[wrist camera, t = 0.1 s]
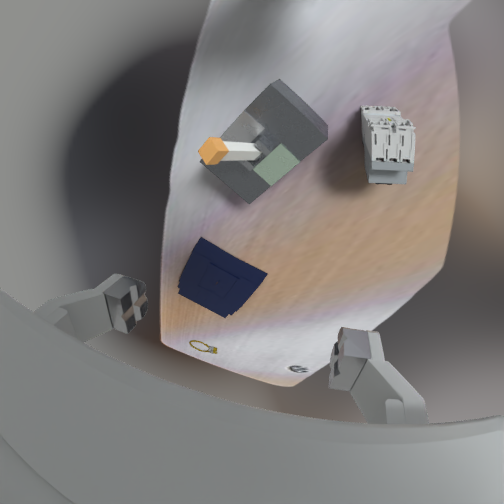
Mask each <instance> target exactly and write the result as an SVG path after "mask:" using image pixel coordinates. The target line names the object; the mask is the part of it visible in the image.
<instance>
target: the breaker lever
mask: <svg viewBox="0 0 504 504" xmlns="http://www.w3.org/2000/svg"><path fill="white" fill-rule="evenodd" d="M254 144H255V143H243V142H227V141H222V139H221V138H215V137H209V138H208V139H207V141H206V142H205V143H204V144H203V146H202V147H201V148H200V149H199V151H198V152H199V154H200V156H201V157H202V159H203V161H204V162H205V164H206V165H214V164H218V163H219V162H220V161H236V160H254V161H257V160H258V159H259V158H260V157H261V156H262V155H263V154H264V153H262V152H261V151H260V150H259V149H258V148H257V147H256V146H255V145H254Z"/></svg>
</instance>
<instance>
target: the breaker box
mask: <svg viewBox="0 0 504 504" xmlns="http://www.w3.org/2000/svg"><path fill="white" fill-rule="evenodd" d="M220 138H221V139H222V141H227V142H243V143H255V144H254V145H255V146H256V147H257V148H258V149H259V150H260V151H261V152H262V153H264V154H263V155H262V156H261V157H260V158H259V159H258V160H257V161H254V160H236V161H220V162H219V163H218V164H214V165H206V164H205V162H204V161H203V159H201V161H200V163H202V164H203V165H204V166H205V167H206V168H208V169H209V170H210V171H211V172H212V173H214V174H215V175H216V176H217V177H218V178H219V179H221V180H222V181H223V182H224V183H225V184H226V185H228V186H229V187H230V188H231V189H232V190H233V191H235V192H236V193H237V194H238V195H239V196H240V197H242V198H243V199H244V200H245V201H246V202H247V203H248V204H250V203H252V202H253V201H254V200H255V199H256V198H257V197H259V196H260V195H261V194H262V193H263V192H264V191H266V190H267V189H268V188H269V187H270V186H272V185H273V184H274V183H276V182H277V181H278V180H279V179H280V178H282V177H283V176H284V175H285V174H286V173H288V172H289V171H290V170H291V169H292V168H294V167H295V166H296V165H297V164H298V163H300V161H301V160H303V159H304V158H305V157H306V156H308V155H309V154H310V153H311V152H313V151H314V150H315V149H316V148H317V147H319V146H320V145H321V144H322V143H324V142H325V141H326V140H327V139H328V125H327V124H326V123H325V122H324V121H323V120H322V119H321V118H320V117H319V116H318V115H317V114H316V113H315V112H314V111H313V110H312V109H311V108H310V107H309V106H308V105H307V104H306V103H305V102H304V101H303V100H302V99H301V98H300V97H299V96H298V95H297V94H296V93H295V92H294V91H292V90H291V89H290V88H289V87H288V86H287V85H286V84H285V83H284V82H282V81H281V80H280V79H279V80H277V81H275V82H273V83H271V84H270V85H269V86H268V87H267V88H266V89H265V90H264V91H263V92H262V93H261V94H260V95H259V96H258V97H257V98H256V99H255V100H254V101H253V102H252V103H251V104H250V105H249V106H248V107H247V108H246V109H245V110H244V111H243V112H242V114H241V115H240V116H239V117H238V118H237V119H236V120H235V121H234V122H233V123H232V124H231V126H230V127H229V128H228V129H227V130H226V131H225V132H224V133H223V135H222V136H221V137H220Z"/></svg>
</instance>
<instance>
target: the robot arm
mask: <svg viewBox="0 0 504 504" xmlns="http://www.w3.org/2000/svg"><path fill="white" fill-rule="evenodd" d="M145 292H146V286H145V283H144V282H142V281H139V280H136V279H133V278H130V277H127V276H123V275H120V274H113V275H112V276H111V277H109V278H108V279H107V280H105V281H104V282H103V283H101V284H100V285H99V286H98V287H96V288H95V289H94V290H93V289H89V290H85V291H81V292H77V293H74V294H69V295H66V296H62V297H58V298H54V299H50V300H48V301H47V302H45V303H44V304H43V305H42V306H40V307H39V308H38V309H36V310H35V311H34V312H32V311H31V310H30V309H28V308H27V307H25V306H24V305H22V304H21V303H20V302H18V301H17V300H15V299H14V298H13V297H11V296H10V295H9V294H7V293H6V292H5V291H4V290H2V289H1V288H0V504H504V416H501V415H497V416H491V417H485V418H479V419H472V420H464V421H456V422H445V423H431V424H429V422H428V415H427V410H426V405H425V401H424V399H423V398H422V396H420V394H419V393H418V392H417V391H416V390H415V389H414V388H413V387H412V386H411V385H410V384H409V383H408V382H407V381H406V379H405V378H404V377H403V376H402V375H401V374H400V373H399V372H398V371H397V370H396V369H395V368H394V367H393V366H392V365H391V364H390V363H389V362H388V361H385V359H384V353H383V348H382V344H381V339H380V334H379V333H378V332H374V331H363V330H357V329H350V328H344V327H341V329H340V331H339V333H338V342H336V343H335V344H334V347H333V349H332V353H331V358H330V367H331V369H332V370H331V372H330V375H329V388H332V389H338V390H345V391H350V394H351V395H352V397H353V399H354V400H355V402H356V404H357V406H358V407H359V409H360V411H361V412H362V414H363V416H364V417H365V419H366V421H367V424H366V423H352V422H341V421H332V420H324V419H316V418H309V417H303V416H296V415H291V414H285V413H280V412H275V411H270V410H265V409H261V408H256V407H252V406H247V405H244V404H240V403H236V402H232V401H229V400H225V399H222V398H218V397H214V396H211V395H208V394H205V393H202V392H199V391H196V390H193V389H190V388H187V387H183V386H181V385H178V384H175V383H172V382H169V381H167V380H164V379H162V378H159V377H157V376H154V375H152V374H149V373H147V372H144V371H142V370H140V369H137V368H135V367H133V366H130V365H128V364H126V363H123V362H122V361H119V360H117V359H115V358H113V357H111V356H109V355H107V354H105V353H103V352H101V351H98V350H97V349H95V348H93V347H91V346H89V345H87V344H85V343H84V342H86V341H88V340H90V339H93V338H95V337H97V336H99V335H101V334H103V333H105V332H108V331H110V330H112V329H113V328H114V329H116V330H119V331H121V332H124V333H127V334H128V333H129V332H130V331H131V330H132V329H133V328H134V327H135V326H136V321H137V320H140V319H142V318H143V317H144V316H145V314H146V312H147V309H148V300H147V298H146V296H145V295H144V293H145Z"/></svg>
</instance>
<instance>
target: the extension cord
mask: <svg viewBox="0 0 504 504" xmlns="http://www.w3.org/2000/svg"><path fill="white" fill-rule="evenodd" d="M191 342H200V341H195V340H192V341H190V342H189V343H190V345H191V346H192V347H193V348H194V346H193V345H192V344H191ZM200 343H203V342H200ZM203 344H204V343H203ZM204 345H205V344H204ZM206 346H207V347H208V348H209V349H211V350H212V351H208V350H207V351H203V352H210V353H215V354H217V348H215V347H210V346H208V345H207V344H206ZM195 349H197V350H199V351H202V350H200V349H198V348H196V347H195Z"/></svg>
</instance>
